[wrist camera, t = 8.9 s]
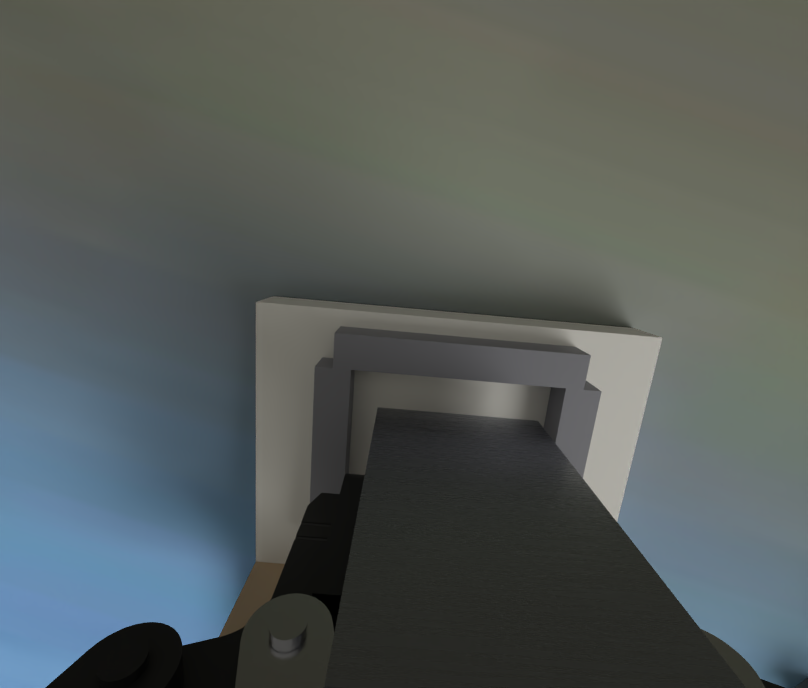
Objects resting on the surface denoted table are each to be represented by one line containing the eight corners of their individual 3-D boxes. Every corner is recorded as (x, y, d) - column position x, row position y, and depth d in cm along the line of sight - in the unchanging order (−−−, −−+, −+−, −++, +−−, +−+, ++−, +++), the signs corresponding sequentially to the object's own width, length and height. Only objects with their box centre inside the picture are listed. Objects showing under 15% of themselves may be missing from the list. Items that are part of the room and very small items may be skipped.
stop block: (377, 407, 11) (324, 686, 4) (537, 420, 11) (771, 720, 4) (367, 544, 12) (310, 961, 5) (513, 556, 12) (663, 986, 5)
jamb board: (534, 762, 18) (607, 1050, 11) (268, 742, 17) (189, 1023, 11) (633, 327, 13) (850, 400, 7) (273, 295, 13) (141, 339, 6)
